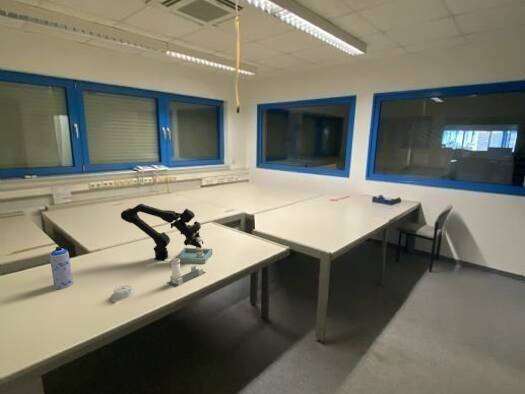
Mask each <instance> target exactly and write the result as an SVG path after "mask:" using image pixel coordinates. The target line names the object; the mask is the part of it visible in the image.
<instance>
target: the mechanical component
mask: <svg viewBox="0 0 525 394" xmlns="http://www.w3.org/2000/svg"><path fill="white" fill-rule="evenodd" d="M134 295H136V291H135V289H133V288H132V285H129V284H123V285H119V286H118V287H115V288H114V289H113V293H112V294H111V296H110V299H111V301H112V302H113V303H116V302H117V301H119V302H120V301H125V300H128V299H130V298H132V297H134Z"/></svg>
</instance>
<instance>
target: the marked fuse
mask: <svg viewBox="0 0 525 394" xmlns="http://www.w3.org/2000/svg"><path fill="white" fill-rule="evenodd" d="M196 240H197V241H198V242H199V244H200V245H201V246H202V247H201V248H199V247H196V246H195V248H196V254H197V258H203V257H204V254H203V249H204V248H203V244H202V241H203V239H202V236H200V237H196Z"/></svg>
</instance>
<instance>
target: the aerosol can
mask: <svg viewBox="0 0 525 394" xmlns="http://www.w3.org/2000/svg"><path fill="white" fill-rule="evenodd" d="M49 260H50V261H49V262H50V267H51V273H52V279H53V288H54V289H56V290H63V289H68V288H69V287H72V286H73V285H74V282H73V277H72V269H71V261H70V260H71V259H70V254H69V251H68V250H67V249H66V248H62V246H60V245H59V246H56V247H55V249H54V250H53V251H51V252H50V253H49Z"/></svg>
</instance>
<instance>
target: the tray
mask: <svg viewBox="0 0 525 394" xmlns="http://www.w3.org/2000/svg"><path fill="white" fill-rule="evenodd" d="M203 254H204V257H203V258H197V254H196V247H183V249H182V250H181V251H180V252H178V254H177V255H176V256H175V257H174V259H175V258H178V259H180V263H185V264H186V263H187V264H188V263H189V264H206V263H207V262H208V261H209V259H210V258H211V257H212V255H213V248H203Z"/></svg>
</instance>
